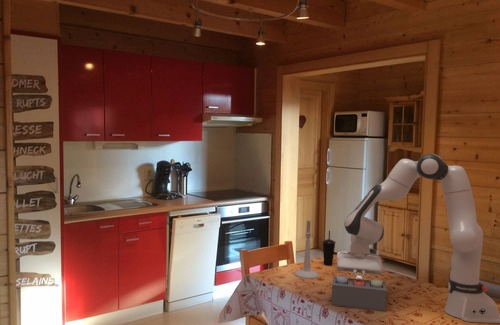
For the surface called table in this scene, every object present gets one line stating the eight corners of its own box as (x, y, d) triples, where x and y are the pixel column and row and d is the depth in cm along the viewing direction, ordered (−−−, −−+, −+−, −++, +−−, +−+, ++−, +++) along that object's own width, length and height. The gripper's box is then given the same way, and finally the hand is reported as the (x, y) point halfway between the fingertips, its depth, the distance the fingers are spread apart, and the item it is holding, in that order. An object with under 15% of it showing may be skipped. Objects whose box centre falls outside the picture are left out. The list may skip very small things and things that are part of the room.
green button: (381, 287, 192) (381, 279, 192) (382, 290, 187) (382, 283, 187) (370, 286, 193) (370, 278, 193) (370, 289, 188) (371, 281, 188)
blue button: (347, 283, 195) (347, 276, 195) (347, 287, 191) (347, 279, 191) (336, 282, 197) (336, 275, 196) (336, 285, 192) (336, 278, 192)
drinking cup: (330, 262, 256) (331, 229, 255) (337, 266, 249) (338, 231, 248) (319, 263, 254) (320, 229, 253) (325, 267, 247) (327, 232, 246)
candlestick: (293, 271, 237) (295, 217, 236) (317, 272, 237) (319, 218, 235) (295, 278, 224) (297, 221, 223) (320, 279, 224) (322, 222, 222)
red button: (364, 288, 194) (364, 280, 194) (364, 291, 189) (364, 283, 189) (353, 287, 195) (353, 279, 195) (353, 290, 190) (353, 282, 190)
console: (384, 301, 195) (384, 281, 195) (385, 311, 184) (386, 290, 183) (332, 295, 201) (333, 276, 200) (331, 304, 189) (332, 284, 189)
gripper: (337, 247, 201) (335, 274, 192) (382, 251, 196) (383, 279, 187) (337, 254, 205) (335, 281, 196) (381, 258, 201) (381, 286, 192)
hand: (358, 280), depth 192 cm, fingers closed, pressing on red button
